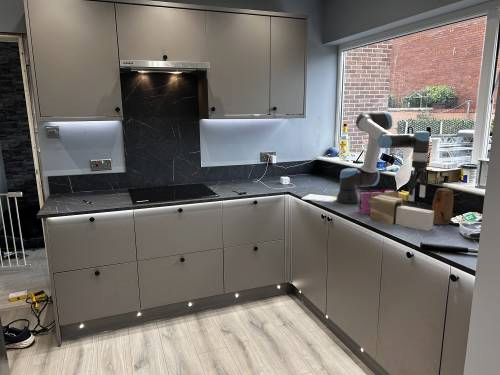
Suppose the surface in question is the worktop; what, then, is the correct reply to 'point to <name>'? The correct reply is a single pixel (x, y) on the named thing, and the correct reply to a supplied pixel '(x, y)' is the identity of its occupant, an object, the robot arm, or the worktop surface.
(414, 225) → the block
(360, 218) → the worktop surface
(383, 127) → the robot arm
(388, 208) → the tan wooden box
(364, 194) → the gum box
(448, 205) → the block
